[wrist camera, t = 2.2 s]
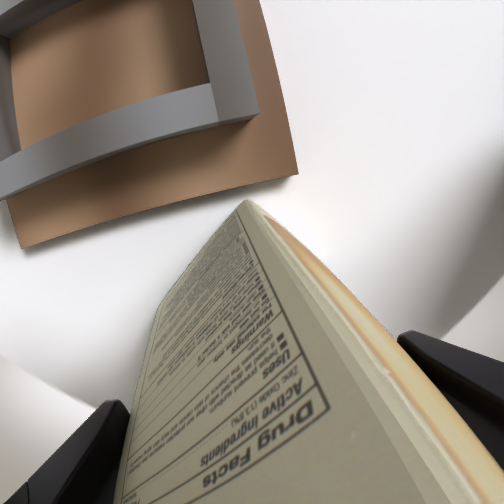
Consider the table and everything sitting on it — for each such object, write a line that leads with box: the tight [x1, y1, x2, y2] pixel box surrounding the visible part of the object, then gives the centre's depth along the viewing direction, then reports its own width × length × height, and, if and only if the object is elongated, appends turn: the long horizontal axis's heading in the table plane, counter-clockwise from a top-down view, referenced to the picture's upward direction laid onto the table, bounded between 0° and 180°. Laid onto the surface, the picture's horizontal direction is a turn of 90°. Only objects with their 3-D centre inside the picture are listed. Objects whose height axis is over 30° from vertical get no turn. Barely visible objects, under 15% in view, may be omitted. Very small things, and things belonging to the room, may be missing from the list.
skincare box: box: [113, 200, 504, 504], centre depth 8 cm, size 6×4×12 cm
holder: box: [0, 0, 298, 249], centre depth 8 cm, size 12×12×3 cm
